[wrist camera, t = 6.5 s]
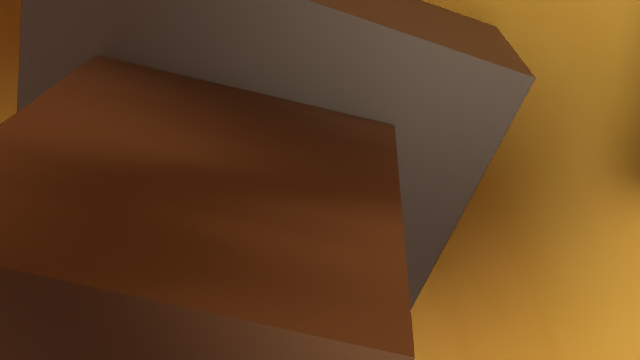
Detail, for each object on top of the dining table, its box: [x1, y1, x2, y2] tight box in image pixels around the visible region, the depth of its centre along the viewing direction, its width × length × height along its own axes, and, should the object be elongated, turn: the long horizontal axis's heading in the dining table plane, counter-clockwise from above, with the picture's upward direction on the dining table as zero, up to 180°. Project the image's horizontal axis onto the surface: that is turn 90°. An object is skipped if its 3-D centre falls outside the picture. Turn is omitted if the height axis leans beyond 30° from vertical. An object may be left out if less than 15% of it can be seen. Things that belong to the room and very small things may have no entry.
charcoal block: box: [17, 0, 535, 309], centre depth 12 cm, size 8×8×4 cm
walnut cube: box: [0, 55, 415, 360], centre depth 8 cm, size 5×5×5 cm
